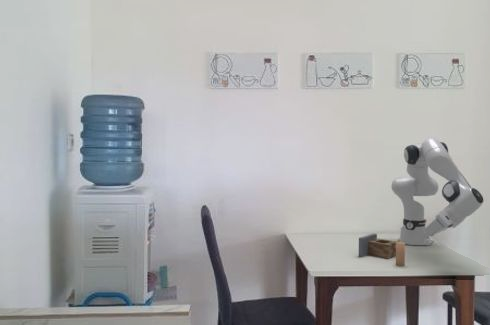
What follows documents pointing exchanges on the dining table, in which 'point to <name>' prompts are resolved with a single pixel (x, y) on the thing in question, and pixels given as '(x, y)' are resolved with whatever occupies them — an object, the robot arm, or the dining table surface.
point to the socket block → (382, 248)
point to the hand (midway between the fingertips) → (427, 236)
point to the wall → (365, 244)
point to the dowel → (400, 253)
